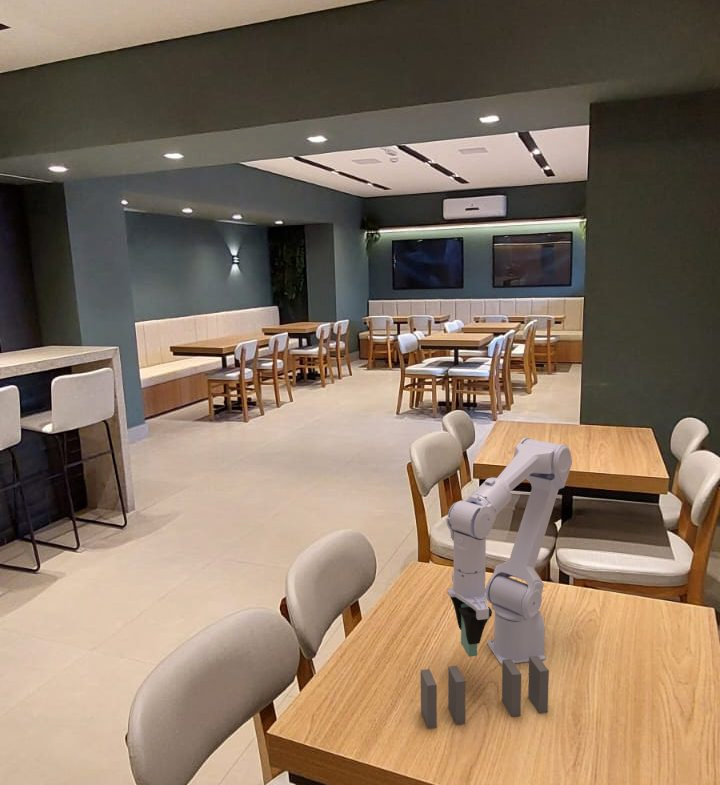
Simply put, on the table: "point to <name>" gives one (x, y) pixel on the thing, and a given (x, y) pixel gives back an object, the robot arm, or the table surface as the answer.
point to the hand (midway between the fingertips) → (469, 635)
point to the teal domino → (471, 648)
